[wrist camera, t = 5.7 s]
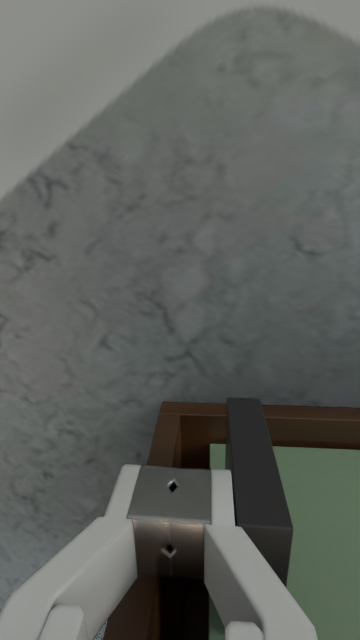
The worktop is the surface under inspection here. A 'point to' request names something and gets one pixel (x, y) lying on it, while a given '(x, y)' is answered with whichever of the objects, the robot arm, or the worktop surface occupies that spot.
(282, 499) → the sliding door
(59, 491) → the worktop surface
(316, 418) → the brown wooden box
